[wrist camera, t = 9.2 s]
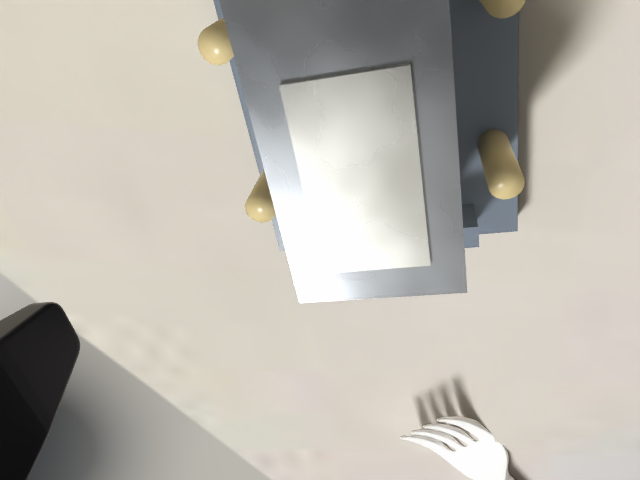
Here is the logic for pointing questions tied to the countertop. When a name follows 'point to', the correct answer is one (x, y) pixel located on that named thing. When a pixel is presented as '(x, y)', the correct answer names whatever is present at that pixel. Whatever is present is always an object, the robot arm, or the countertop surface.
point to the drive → (356, 141)
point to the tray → (471, 113)
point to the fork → (466, 448)
